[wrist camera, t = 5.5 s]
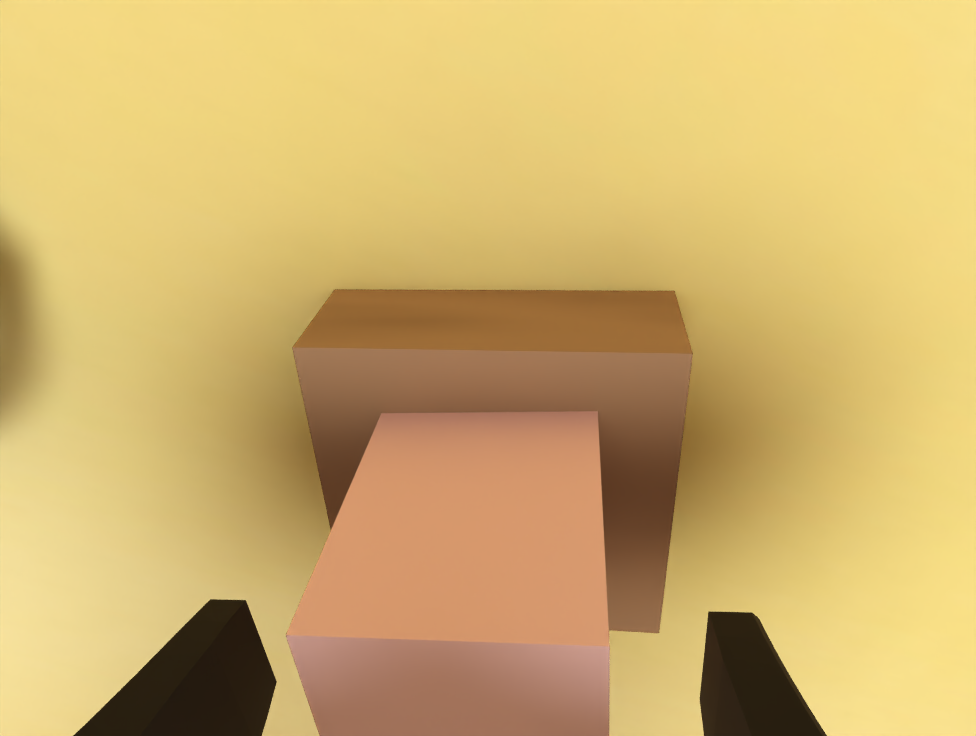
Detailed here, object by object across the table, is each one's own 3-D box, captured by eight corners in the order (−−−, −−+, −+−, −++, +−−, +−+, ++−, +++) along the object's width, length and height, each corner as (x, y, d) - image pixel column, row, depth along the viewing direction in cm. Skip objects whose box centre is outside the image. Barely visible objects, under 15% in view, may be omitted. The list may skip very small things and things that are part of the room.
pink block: (598, 571, 14) (608, 829, 10) (411, 567, 15) (344, 811, 11) (597, 410, 12) (609, 646, 8) (381, 413, 13) (285, 635, 9)
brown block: (647, 535, 18) (658, 633, 15) (380, 523, 19) (348, 614, 16) (671, 282, 14) (692, 353, 12) (341, 281, 15) (292, 347, 12)
